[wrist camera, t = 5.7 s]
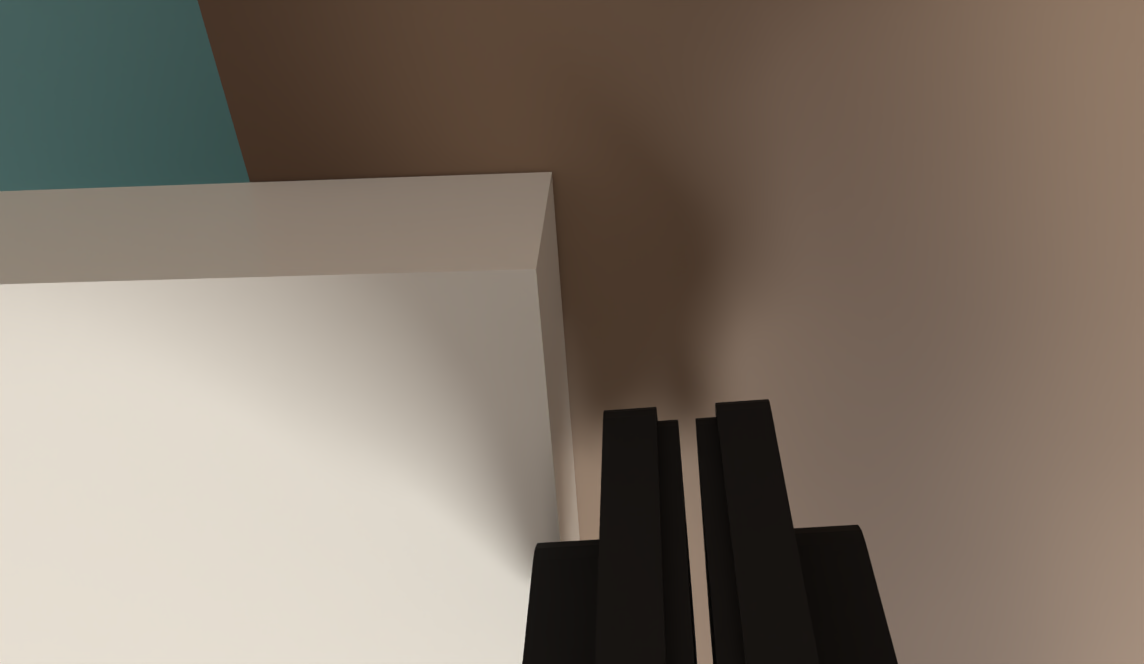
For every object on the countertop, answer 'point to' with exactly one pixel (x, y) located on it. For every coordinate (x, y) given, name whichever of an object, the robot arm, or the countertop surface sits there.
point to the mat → (111, 97)
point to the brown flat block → (803, 257)
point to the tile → (280, 420)
